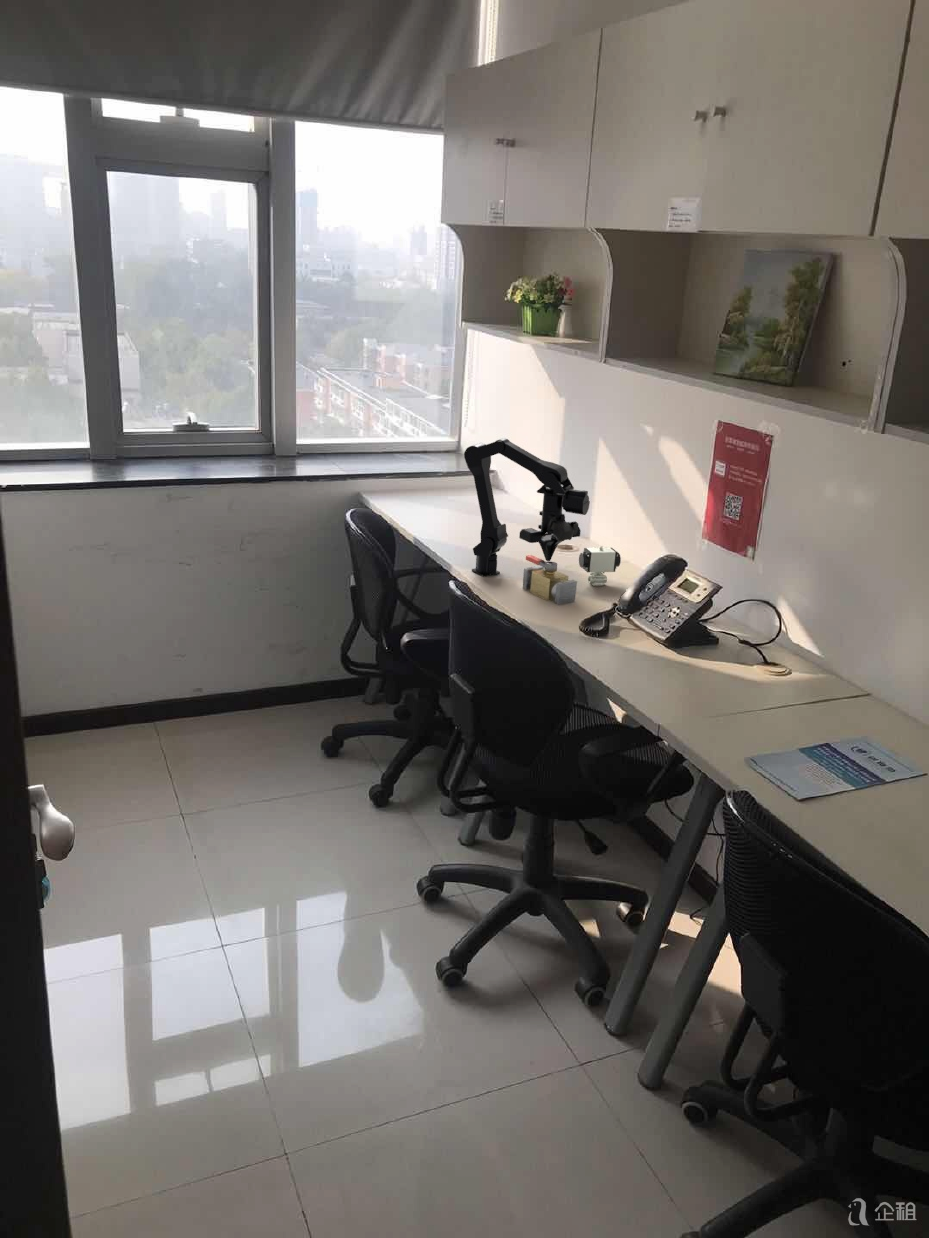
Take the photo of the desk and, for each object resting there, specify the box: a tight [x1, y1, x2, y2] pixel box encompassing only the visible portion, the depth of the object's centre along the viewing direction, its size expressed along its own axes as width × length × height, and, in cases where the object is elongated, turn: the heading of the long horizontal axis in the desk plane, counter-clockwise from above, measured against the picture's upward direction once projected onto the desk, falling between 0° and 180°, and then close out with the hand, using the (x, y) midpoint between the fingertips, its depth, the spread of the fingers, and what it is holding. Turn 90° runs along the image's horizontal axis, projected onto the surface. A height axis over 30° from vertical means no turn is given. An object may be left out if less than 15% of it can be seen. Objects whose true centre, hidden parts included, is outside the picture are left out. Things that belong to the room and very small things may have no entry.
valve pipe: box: [522, 565, 578, 606], centre depth 283 cm, size 16×7×7 cm, turn 36°
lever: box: [525, 554, 558, 572], centre depth 285 cm, size 12×4×2 cm, turn 35°
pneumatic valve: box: [578, 545, 622, 587], centre depth 294 cm, size 6×12×12 cm, turn 104°
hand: (548, 560), depth 290 cm, fingers closed
